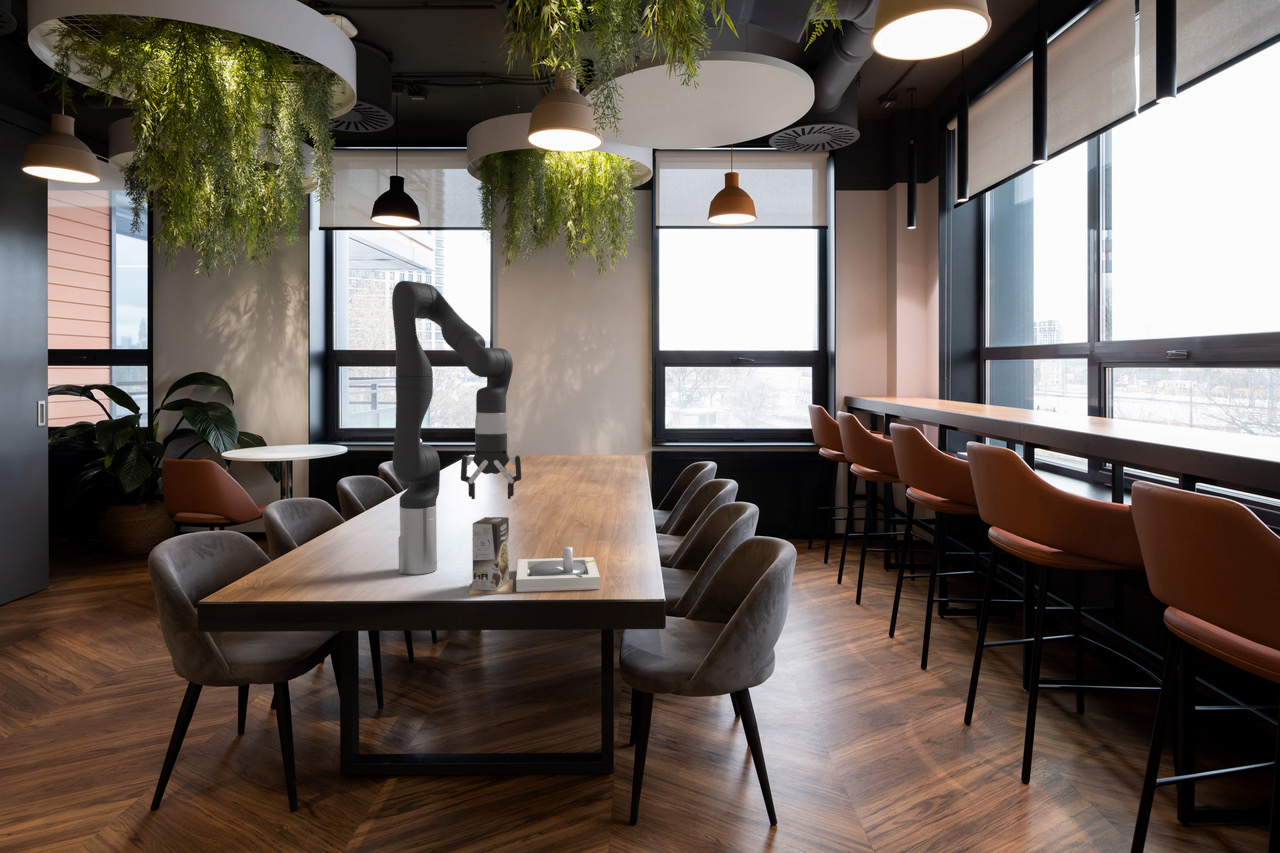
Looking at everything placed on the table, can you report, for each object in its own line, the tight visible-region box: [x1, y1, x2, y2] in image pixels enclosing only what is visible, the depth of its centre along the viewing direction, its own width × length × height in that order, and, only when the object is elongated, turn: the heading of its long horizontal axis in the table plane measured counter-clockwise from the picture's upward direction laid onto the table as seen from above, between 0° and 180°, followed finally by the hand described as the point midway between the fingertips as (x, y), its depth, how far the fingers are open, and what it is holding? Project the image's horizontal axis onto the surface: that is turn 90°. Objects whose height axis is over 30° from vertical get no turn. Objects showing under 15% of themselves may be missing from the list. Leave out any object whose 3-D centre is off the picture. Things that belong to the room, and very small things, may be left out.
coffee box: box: [472, 516, 510, 591], centre depth 179 cm, size 9×6×16 cm
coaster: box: [468, 579, 514, 596], centre depth 179 cm, size 10×10×1 cm
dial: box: [529, 546, 585, 576], centre depth 187 cm, size 14×14×8 cm
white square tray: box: [515, 556, 601, 593], centre depth 187 cm, size 20×20×3 cm
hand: (491, 498), depth 178 cm, fingers open, 8 cm apart
